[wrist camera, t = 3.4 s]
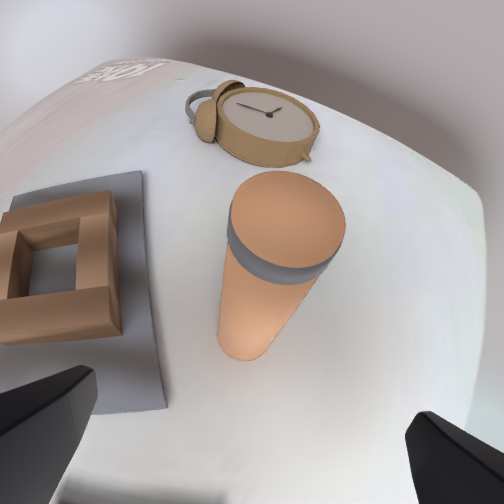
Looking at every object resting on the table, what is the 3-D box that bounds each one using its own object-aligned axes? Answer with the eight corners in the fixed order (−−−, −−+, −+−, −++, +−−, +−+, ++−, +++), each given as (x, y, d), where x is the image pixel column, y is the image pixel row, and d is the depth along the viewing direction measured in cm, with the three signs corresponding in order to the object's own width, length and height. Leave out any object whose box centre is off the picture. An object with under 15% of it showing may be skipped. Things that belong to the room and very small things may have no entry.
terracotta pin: (277, 354, 20) (365, 253, 9) (223, 366, 19) (246, 274, 8) (263, 305, 21) (320, 168, 11) (211, 315, 21) (220, 174, 10)
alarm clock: (314, 162, 27) (167, 100, 25) (293, 194, 31) (162, 137, 29) (327, 110, 33) (214, 61, 31) (310, 138, 37) (205, 92, 35)
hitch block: (167, 408, 17) (156, 404, 13) (-3, 411, 13) (-35, 404, 10) (142, 178, 26) (137, 145, 23) (17, 203, 23) (1, 175, 20)
